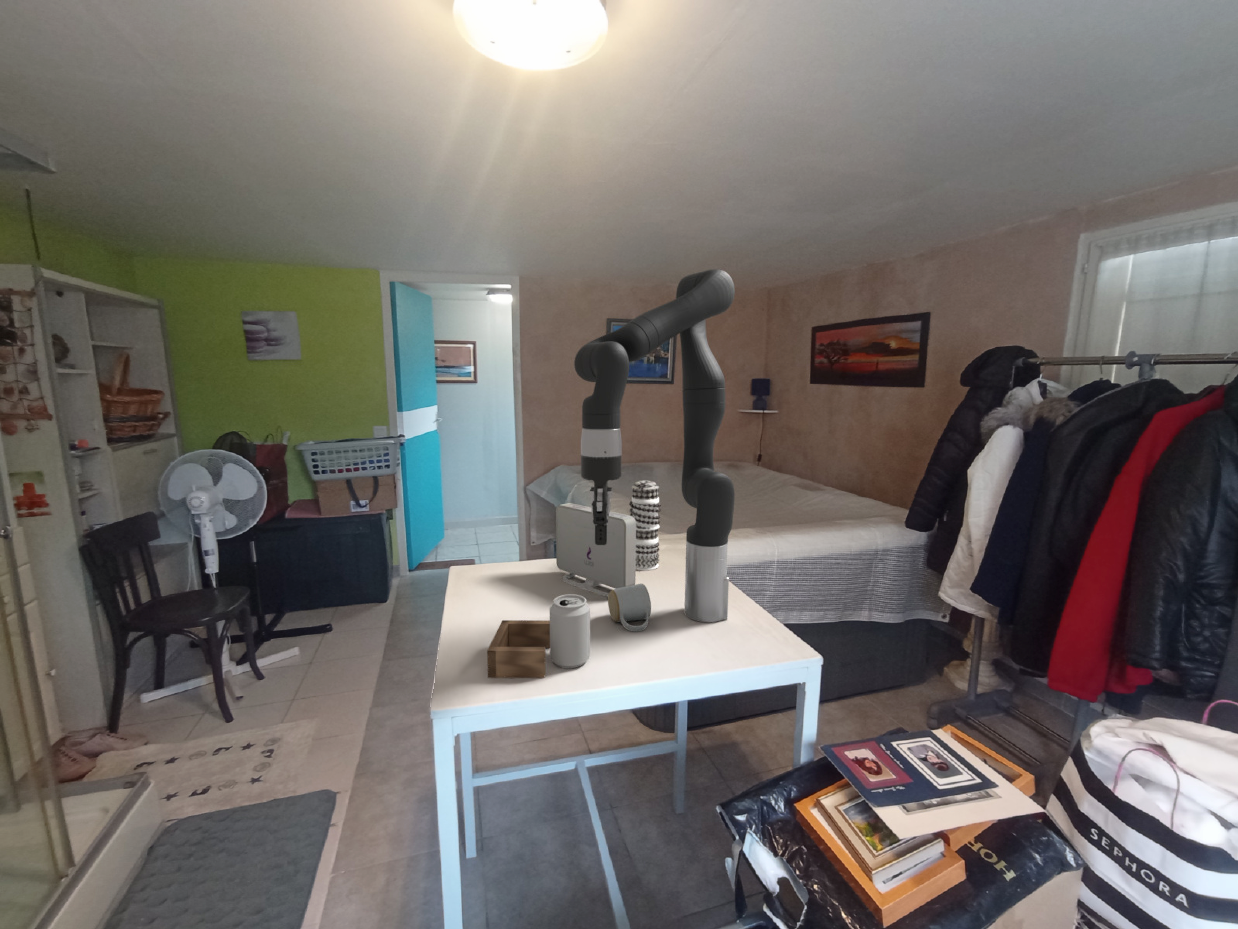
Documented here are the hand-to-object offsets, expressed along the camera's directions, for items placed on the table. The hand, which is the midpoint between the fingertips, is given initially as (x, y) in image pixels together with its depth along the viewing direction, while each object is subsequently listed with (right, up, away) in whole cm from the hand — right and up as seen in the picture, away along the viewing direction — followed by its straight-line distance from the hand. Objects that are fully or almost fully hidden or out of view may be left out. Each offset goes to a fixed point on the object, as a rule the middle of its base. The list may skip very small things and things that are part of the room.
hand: (601, 543), depth 99 cm
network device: (-3, -17, +39) cm, 43 cm away
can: (-6, -22, 0) cm, 23 cm away
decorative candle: (+11, -15, +54) cm, 58 cm away
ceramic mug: (+6, -20, +17) cm, 27 cm away
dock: (-15, -22, 0) cm, 26 cm away
